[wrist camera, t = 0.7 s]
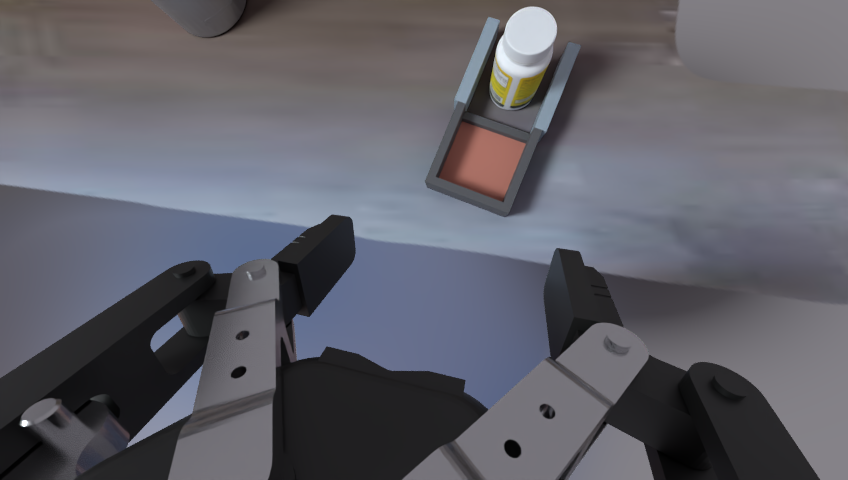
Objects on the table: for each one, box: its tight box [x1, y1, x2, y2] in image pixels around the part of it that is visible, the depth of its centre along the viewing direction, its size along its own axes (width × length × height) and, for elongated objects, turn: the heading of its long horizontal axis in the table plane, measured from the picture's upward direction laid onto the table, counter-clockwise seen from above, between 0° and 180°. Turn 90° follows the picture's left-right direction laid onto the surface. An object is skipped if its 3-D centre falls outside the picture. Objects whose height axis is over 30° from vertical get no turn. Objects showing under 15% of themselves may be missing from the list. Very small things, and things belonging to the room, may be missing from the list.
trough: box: [454, 17, 581, 141], centre depth 31 cm, size 9×9×2 cm
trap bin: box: [425, 101, 542, 217], centre depth 31 cm, size 9×9×2 cm
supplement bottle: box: [489, 7, 557, 110], centre depth 28 cm, size 5×5×8 cm
